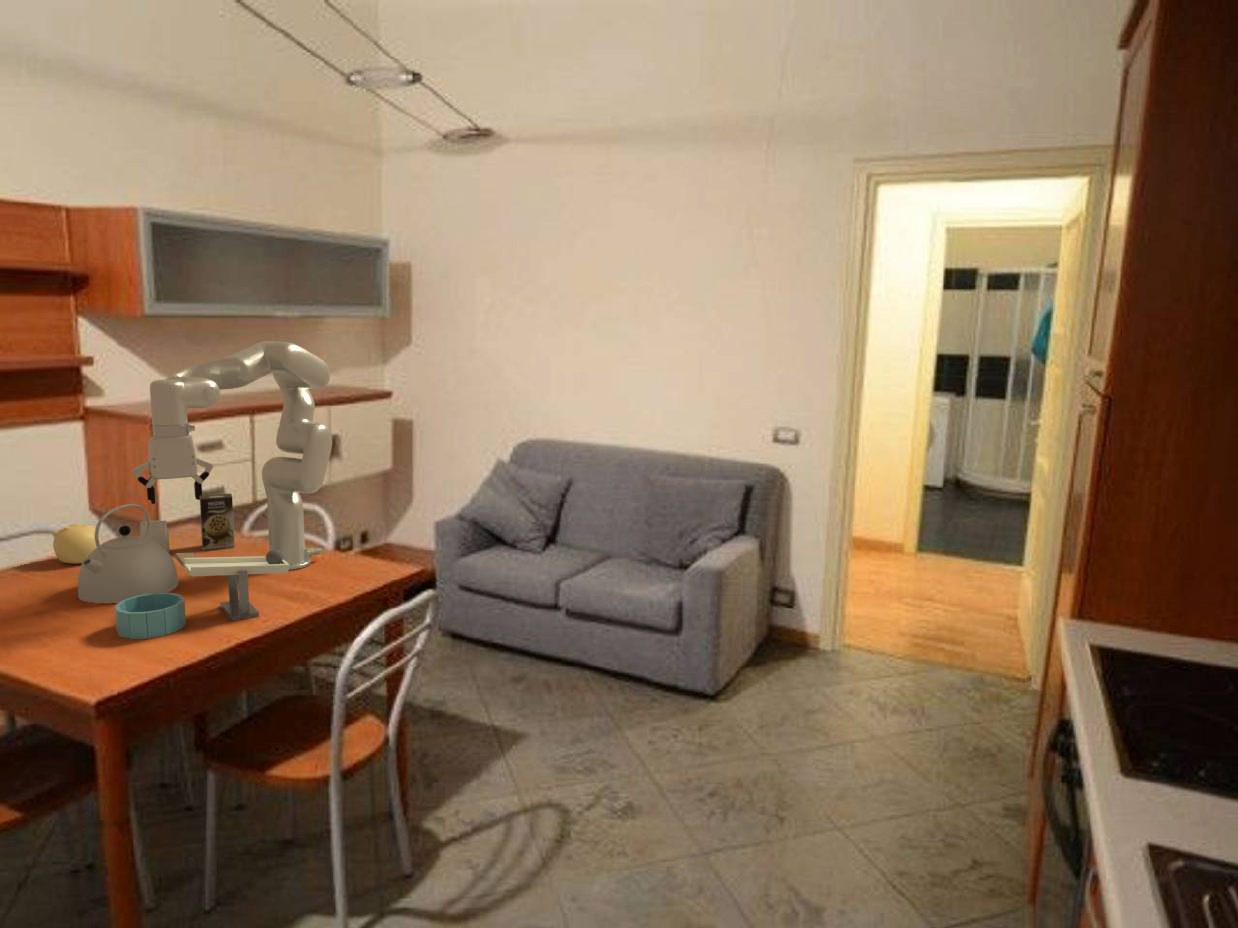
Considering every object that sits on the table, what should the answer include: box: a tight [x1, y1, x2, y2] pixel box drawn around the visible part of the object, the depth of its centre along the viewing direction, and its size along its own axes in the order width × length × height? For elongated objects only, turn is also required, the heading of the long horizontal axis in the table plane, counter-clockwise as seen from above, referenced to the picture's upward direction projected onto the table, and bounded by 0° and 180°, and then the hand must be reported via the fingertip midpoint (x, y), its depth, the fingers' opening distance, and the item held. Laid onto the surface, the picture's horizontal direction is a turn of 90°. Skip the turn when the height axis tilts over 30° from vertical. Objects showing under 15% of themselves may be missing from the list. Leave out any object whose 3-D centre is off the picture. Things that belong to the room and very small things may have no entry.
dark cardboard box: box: [199, 493, 236, 551], centre depth 256 cm, size 9×6×16 cm
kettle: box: [77, 503, 179, 604], centre depth 214 cm, size 25×23×23 cm
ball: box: [265, 549, 283, 564], centre depth 207 cm, size 4×4×4 cm
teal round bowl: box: [114, 592, 187, 640], centre depth 191 cm, size 14×14×6 cm
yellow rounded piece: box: [52, 523, 103, 564], centre depth 238 cm, size 12×12×11 cm
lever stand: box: [219, 571, 260, 622], centre depth 202 cm, size 6×12×12 cm, turn 38°
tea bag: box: [139, 519, 171, 554], centre depth 247 cm, size 4×7×10 cm, turn 105°
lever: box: [174, 552, 290, 579], centre depth 205 cm, size 22×18×3 cm
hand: (175, 500), depth 202 cm, fingers open, 9 cm apart
